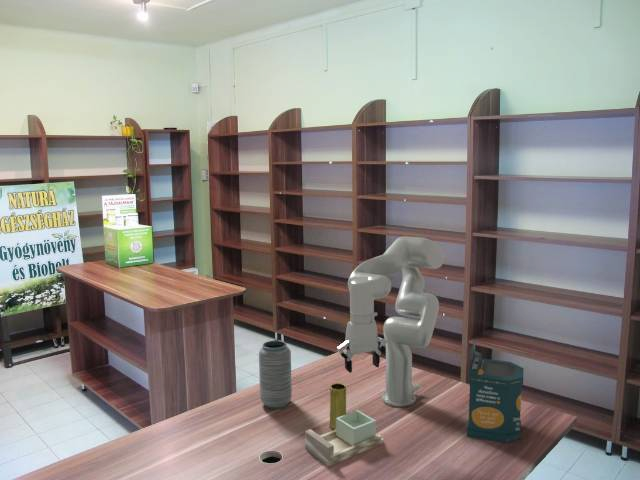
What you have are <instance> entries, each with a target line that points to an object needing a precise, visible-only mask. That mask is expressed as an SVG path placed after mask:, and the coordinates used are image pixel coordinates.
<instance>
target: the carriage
mask: <svg viewBox="0 0 640 480" xmlns="http://www.w3.org/2000/svg"><path fill="white" fill-rule="evenodd" d="M376 435H377V420H375V418H372V417H371V416H370V415H369V416H368V415H367V414H365V413H363V412H362V411H360V410H359V409H357V410H354V411H351V412H349V413H346V415H343V416H340V417H338V418H336V436H338V437H339V438H341V439H342V440H344V441H345V442H347V443H348V444H350V445H351V446H354V445H356V444H358V443H361V442H363V441H366V440H368V439H370V438H373V437H375V436H376Z"/></svg>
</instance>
